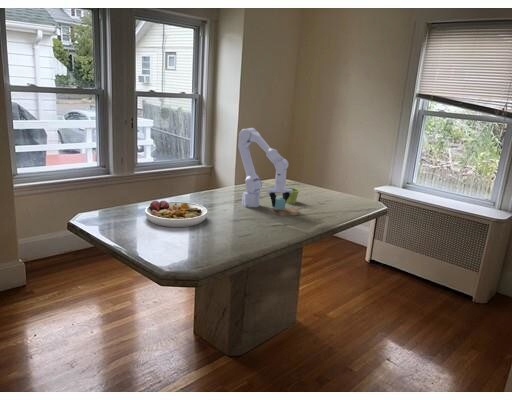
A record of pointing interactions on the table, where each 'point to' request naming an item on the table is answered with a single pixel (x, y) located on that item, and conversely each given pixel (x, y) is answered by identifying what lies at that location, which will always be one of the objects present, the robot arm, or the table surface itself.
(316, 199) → the table surface
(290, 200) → the plant pot
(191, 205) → the bowl
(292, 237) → the table surface
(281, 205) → the blue cube with slot
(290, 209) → the panel
